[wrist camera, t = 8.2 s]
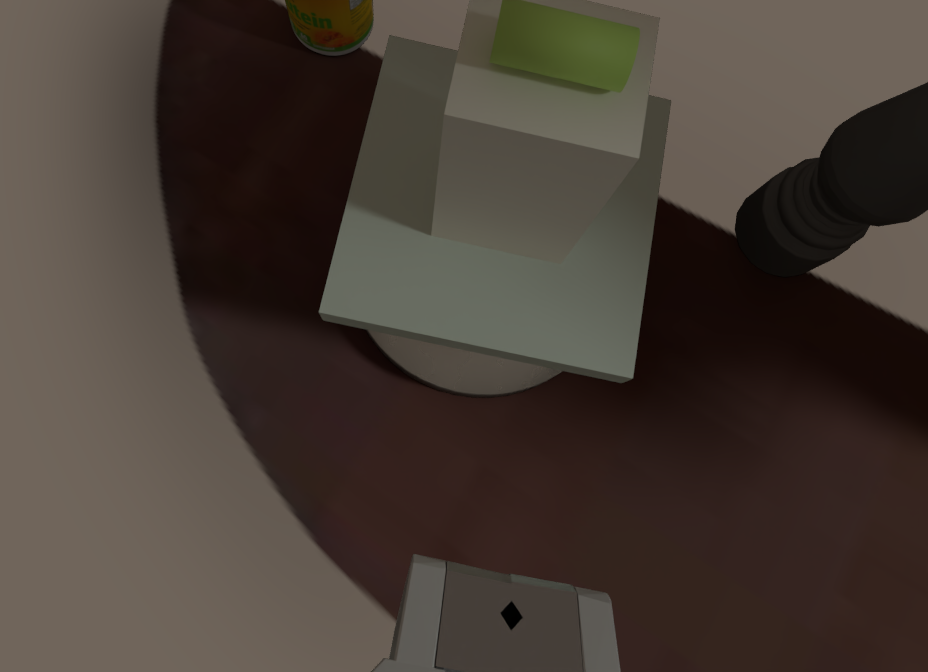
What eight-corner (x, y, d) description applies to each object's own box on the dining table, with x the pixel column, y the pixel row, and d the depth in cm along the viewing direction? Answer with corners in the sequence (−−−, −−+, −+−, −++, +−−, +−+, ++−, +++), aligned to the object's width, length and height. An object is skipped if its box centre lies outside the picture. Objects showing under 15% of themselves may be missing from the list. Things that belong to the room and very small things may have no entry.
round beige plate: (586, 422, 38) (634, 410, 30) (321, 367, 38) (298, 339, 29) (623, 179, 42) (676, 109, 34) (381, 125, 41) (375, 40, 33)
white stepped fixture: (621, 383, 30) (789, 313, 17) (323, 320, 29) (256, 197, 16) (659, 116, 33) (824, -116, 20) (390, 54, 32) (379, -228, 19)
